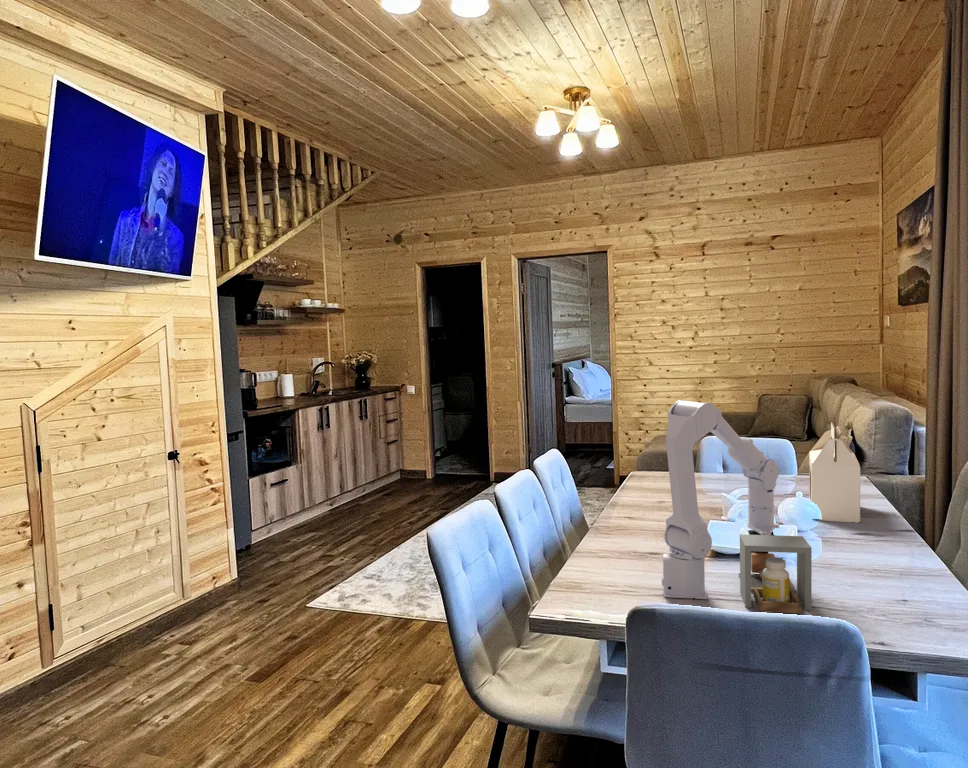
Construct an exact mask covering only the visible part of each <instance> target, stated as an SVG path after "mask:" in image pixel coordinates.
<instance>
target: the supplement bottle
mask: <svg viewBox="0 0 968 768" xmlns="http://www.w3.org/2000/svg"><path fill="white" fill-rule="evenodd" d="M786 564H787V563H786V560H785V559H784V558H779V557H774V558H767V559H766V567H767V568H765V569H764V570H763V572H762V585H763V598H762V601H769V602H789V603H791V599H790V595H789V579H790V573H789V572H788V570H786V566H787V565H786Z"/></svg>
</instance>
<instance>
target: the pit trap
mask: <svg viewBox="0 0 968 768" xmlns="http://www.w3.org/2000/svg"><path fill="white" fill-rule="evenodd" d="M738 578H739V579H740V572H738ZM753 588H763V585H762V578H761V576H760V574H759V573H751V593H753ZM789 589H793V591H794V592H795V594H796V595H797V588H795V586H794V583H793V582H792V581H791V579H790V578H789Z"/></svg>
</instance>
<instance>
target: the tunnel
mask: <svg viewBox="0 0 968 768" xmlns="http://www.w3.org/2000/svg"><path fill="white" fill-rule="evenodd" d="M812 549H813V548H812V547H811V545H810V543H809V542H808V541H807V540H806V538H805V537H804V536H803V535H775V534H774V535H749V534H743V533H742V534H739V573H740V578H739V586H740V587H739V590H740V592H739V594H740V593H741V594H740V596H742V597H741V599H742V602H743V604H745V605H744V608H746V607H751V608H752V592H751V574H752V571H751V553H752V552H754V551H759V552H768V553H791V554H794V553H795V554H796V591H797V594H796V596H797V598H798V599H799V601H800V603H801V607H803V609H804V610H806V612H812V611H813V610H812V601H813V600H812V585H813V584H812V581H813V580H812V574H813V573H812V571H813V570H812V565H813V564H812V557H813V556H812Z"/></svg>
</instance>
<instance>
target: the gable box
mask: <svg viewBox="0 0 968 768" xmlns="http://www.w3.org/2000/svg"><path fill="white" fill-rule="evenodd" d="M808 452H809V453H808V455H809V457H808V460H809V461H808V463H809V465H808V467H809V468H808V471H809V474H808V475H809V476H808V479H809V481H808V484H809V485H808V486H809V487H808V494H809V495H808V498H809V499H810V500H811V501H812V502H814V503H815V504H817V506H818V507H819V509H820V511H821V514H822V520H821V521H826V522H841V523H852V522H854V523H856V524H860V523H861V465H860V463H859V460H858V459H857V457H856V455H855V453H854V452H853V451H852V449H851V448H850V447H849V445H848V444H847V442H846V441H845V440H844V438H843V437H842V431H841V428H840V425H837V426H835V424H834V421H831V422H830V429H828V430H826V431H825V432H823V434H822V435H821V437H820V438H819V439H818V440H817V442H816V443H815V445H814V446H813V447H812V448H811V449H810V451H808ZM854 523H853V524H854Z"/></svg>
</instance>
